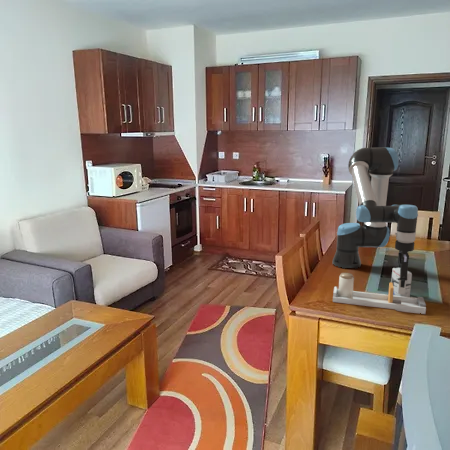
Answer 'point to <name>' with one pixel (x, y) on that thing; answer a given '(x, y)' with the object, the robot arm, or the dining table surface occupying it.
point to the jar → (346, 285)
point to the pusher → (390, 295)
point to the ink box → (396, 282)
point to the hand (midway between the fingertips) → (400, 289)
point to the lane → (383, 301)
